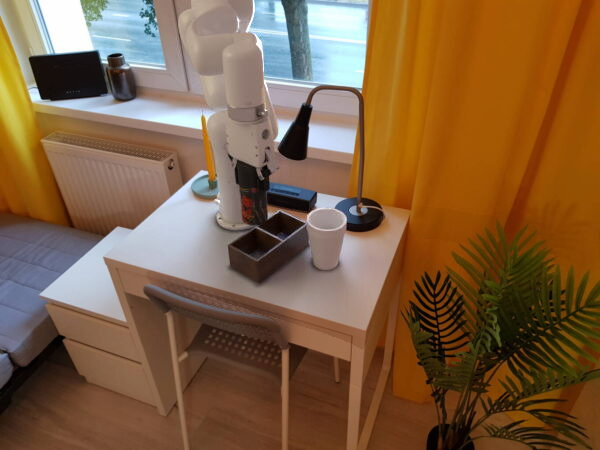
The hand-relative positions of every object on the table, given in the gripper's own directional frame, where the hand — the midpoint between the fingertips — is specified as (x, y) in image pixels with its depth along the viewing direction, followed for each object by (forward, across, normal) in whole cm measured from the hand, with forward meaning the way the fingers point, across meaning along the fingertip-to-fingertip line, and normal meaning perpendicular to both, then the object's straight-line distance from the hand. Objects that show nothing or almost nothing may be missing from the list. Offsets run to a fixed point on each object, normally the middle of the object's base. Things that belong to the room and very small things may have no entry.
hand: (252, 186), depth 107 cm
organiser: (+23, 0, -4) cm, 23 cm away
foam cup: (+23, -12, -11) cm, 28 cm away
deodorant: (+9, 0, 0) cm, 9 cm away
